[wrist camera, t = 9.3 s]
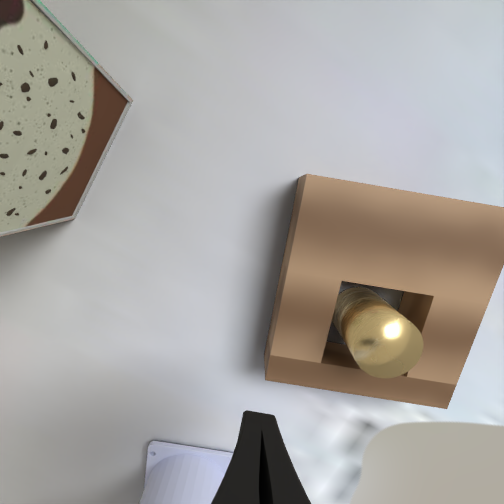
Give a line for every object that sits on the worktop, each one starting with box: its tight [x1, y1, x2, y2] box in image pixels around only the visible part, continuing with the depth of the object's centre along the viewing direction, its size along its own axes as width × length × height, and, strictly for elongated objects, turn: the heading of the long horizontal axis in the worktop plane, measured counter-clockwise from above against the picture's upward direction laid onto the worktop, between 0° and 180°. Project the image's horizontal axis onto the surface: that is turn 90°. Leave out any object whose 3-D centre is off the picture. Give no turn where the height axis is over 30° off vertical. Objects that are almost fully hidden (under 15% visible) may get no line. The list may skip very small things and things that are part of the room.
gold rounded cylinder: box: [332, 287, 423, 378], centre depth 18 cm, size 4×4×5 cm
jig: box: [264, 174, 504, 409], centre depth 18 cm, size 14×13×3 cm
